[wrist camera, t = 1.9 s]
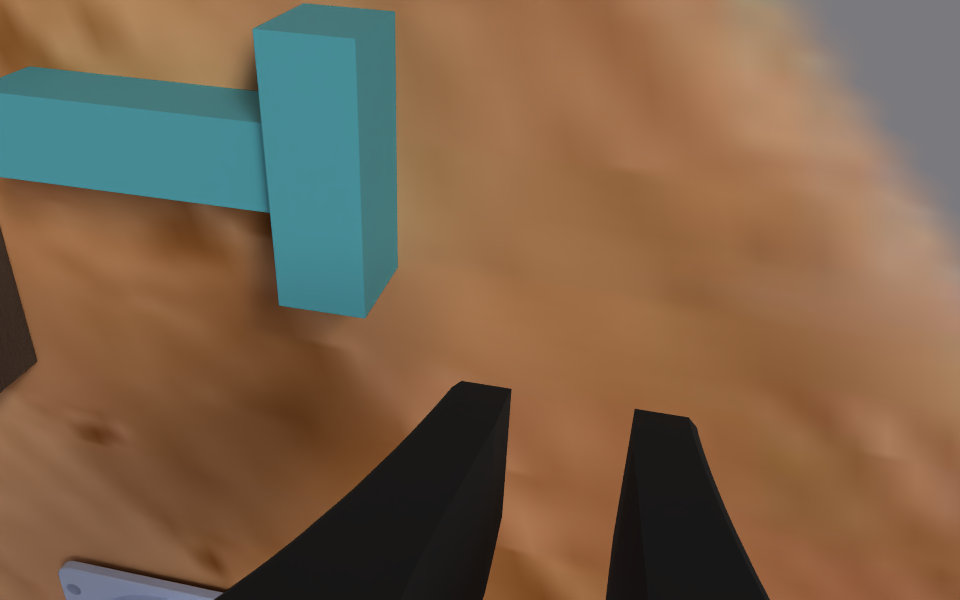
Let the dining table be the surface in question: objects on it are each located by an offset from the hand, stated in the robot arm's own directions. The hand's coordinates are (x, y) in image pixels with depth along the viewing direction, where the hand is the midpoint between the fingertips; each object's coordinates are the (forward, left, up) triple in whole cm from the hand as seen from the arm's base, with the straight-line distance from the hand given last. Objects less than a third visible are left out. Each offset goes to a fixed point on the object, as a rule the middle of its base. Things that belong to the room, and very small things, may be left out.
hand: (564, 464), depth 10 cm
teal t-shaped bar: (0, +10, -10) cm, 13 cm away
